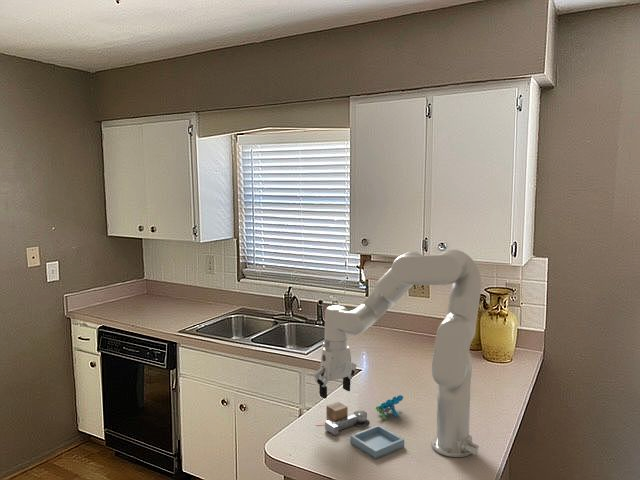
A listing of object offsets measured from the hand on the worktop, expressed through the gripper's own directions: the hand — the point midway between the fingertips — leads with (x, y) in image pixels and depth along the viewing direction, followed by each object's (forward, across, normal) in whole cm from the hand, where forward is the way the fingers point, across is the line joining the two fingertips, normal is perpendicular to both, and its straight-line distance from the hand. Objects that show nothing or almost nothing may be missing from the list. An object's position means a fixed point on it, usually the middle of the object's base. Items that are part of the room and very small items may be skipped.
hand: (335, 393), depth 174 cm
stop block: (+10, 0, -1) cm, 10 cm away
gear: (+10, +19, -6) cm, 22 cm away
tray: (+10, +2, -20) cm, 22 cm away
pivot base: (+10, +2, -3) cm, 11 cm away
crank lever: (+10, +2, -5) cm, 11 cm away
